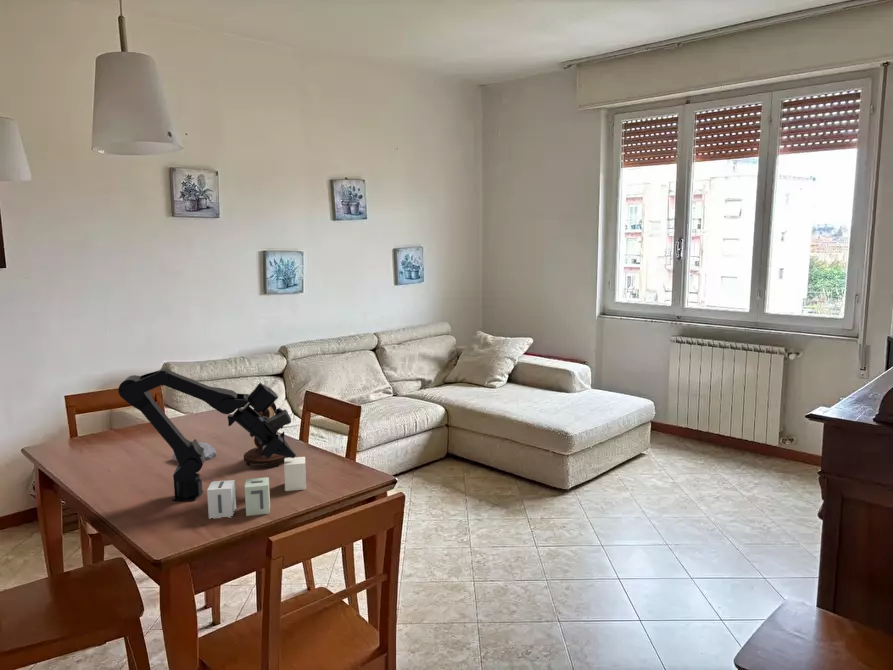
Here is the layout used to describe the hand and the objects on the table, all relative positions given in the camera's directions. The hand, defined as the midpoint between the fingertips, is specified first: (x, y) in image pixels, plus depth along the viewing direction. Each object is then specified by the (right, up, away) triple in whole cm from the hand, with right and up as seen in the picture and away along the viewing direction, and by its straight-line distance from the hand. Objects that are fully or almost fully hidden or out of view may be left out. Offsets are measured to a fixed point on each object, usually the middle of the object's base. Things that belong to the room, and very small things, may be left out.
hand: (294, 456), depth 190 cm
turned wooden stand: (-15, -6, +23) cm, 28 cm away
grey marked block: (-15, -12, -17) cm, 26 cm away
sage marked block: (-6, -12, -15) cm, 20 cm away
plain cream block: (0, -9, +1) cm, 9 cm away
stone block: (-39, -6, +26) cm, 47 cm away
